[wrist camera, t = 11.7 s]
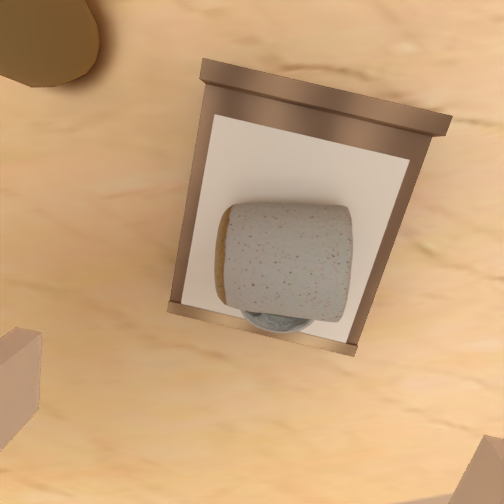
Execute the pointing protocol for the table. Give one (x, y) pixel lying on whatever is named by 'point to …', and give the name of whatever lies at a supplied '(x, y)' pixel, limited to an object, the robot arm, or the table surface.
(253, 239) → the ceramic mug
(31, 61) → the squeeze bottle
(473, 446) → the table surface
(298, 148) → the mat
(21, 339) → the robot arm
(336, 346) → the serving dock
